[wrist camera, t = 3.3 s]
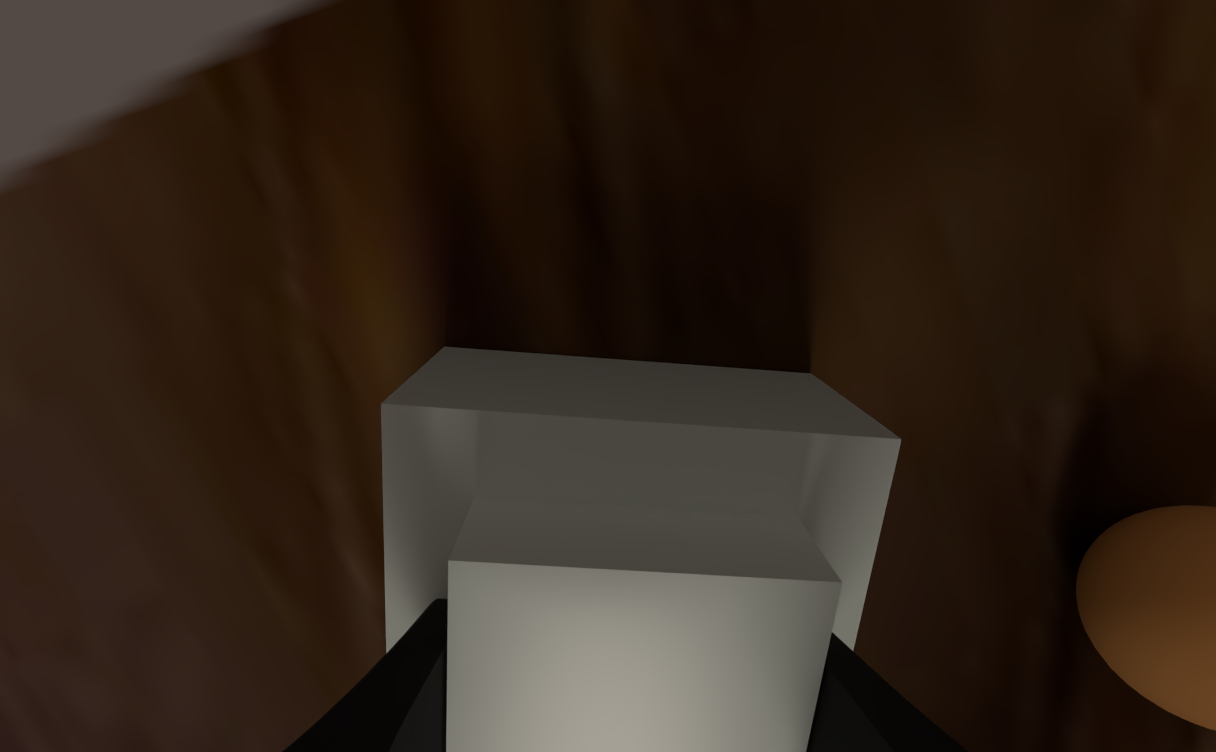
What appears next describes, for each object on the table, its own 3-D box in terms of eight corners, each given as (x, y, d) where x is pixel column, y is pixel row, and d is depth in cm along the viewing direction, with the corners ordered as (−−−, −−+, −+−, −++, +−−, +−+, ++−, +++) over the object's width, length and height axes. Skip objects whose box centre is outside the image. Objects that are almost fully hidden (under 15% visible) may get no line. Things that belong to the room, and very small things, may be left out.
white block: (441, 659, 16) (351, 925, 10) (444, 346, 14) (330, 449, 8) (757, 673, 17) (852, 938, 11) (811, 373, 15) (973, 490, 8)
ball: (1092, 661, 17) (1287, 836, 12) (993, 557, 16) (1165, 704, 11) (1244, 551, 16) (1518, 694, 11) (1150, 434, 15) (1409, 537, 10)
